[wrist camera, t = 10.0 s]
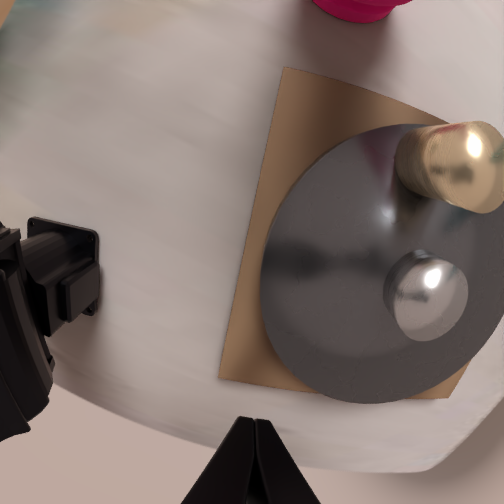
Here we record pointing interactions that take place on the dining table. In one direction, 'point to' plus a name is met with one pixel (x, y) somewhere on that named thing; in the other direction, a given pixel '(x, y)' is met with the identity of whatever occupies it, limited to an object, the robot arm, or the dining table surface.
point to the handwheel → (388, 261)
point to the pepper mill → (359, 9)
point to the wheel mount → (275, 188)
